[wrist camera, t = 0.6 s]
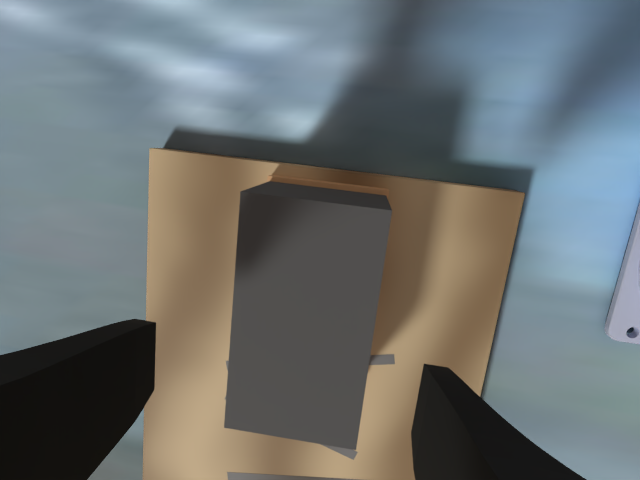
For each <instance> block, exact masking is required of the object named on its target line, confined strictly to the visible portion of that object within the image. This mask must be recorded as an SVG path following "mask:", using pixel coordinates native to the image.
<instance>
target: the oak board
mask: <svg viewBox="0 0 640 480" xmlns="http://www.w3.org/2000/svg"><path fill="white" fill-rule="evenodd" d="M269 175H278V176H287V177H295V178H303V179H311V180H319V181H328V182H336V183H344V184H352V185H360V186H369V187H377V188H385V189H389V196H388V201H389V204H390V206H391V209H392V216H391V222H390V229H389V235H388V242H387V249H386V255H385V262H384V268H383V275H382V282H381V288H380V295H379V301H378V308H377V315H376V321H375V328H374V334H373V341H372V348H371V354H370V361H369V368H368V374H367V381H366V387H365V394H364V401H363V407H362V414H361V420H360V427H359V434H358V440H357V447H356V450H352V449H346V448H340V447H334V446H328V445H322V444H317V443H311V442H305V441H299V440H293V439H287V438H281V437H276V436H270V435H264V434H258V433H252V432H246V431H240V430H235V429H229V428H224V420H225V406H226V392H227V377H228V363H229V349H230V334H231V320H232V306H233V291H234V277H235V263H236V248H237V234H238V220H239V205H240V191H243V190H246V189H249V188H252V187H254V186H257V185H260V184H263V183H266V182H267V178H268V176H269ZM524 196H525V193H523V192H519V191H516V190H509V189H501V188H492V187H484V186H476V185H467V184H459V183H450V182H442V181H434V180H425V179H417V178H409V177H400V176H392V175H383V174H375V173H367V172H358V171H350V170H342V169H333V168H325V167H316V166H308V165H300V164H291V163H283V162H275V161H266V160H258V159H249V158H241V157H233V156H224V155H216V154H207V153H199V152H191V151H182V150H174V149H166V148H150V154H149V202H148V250H147V298H146V321H151V322H156V351H155V387H154V391H153V393H152V395H151V396H150V398H149V400H148V401H147V403H146V405H145V406H144V443H143V480H415V476H414V470H413V457H412V440H411V430H412V425H413V420H414V414H415V409H416V403H417V398H418V392H419V387H420V382H421V376H422V371H423V365H424V364H430V365H436V366H443V367H448V368H449V369H451V370H452V371H453V372H454V373H455V374H456V375H457V376H459V377H460V378H461V379H462V380H463V381H464V382H465V383H466V384H467V385H468V386H469V387H470V388H471V389H472V390H473V391H474V392H475V393H476V394H477V395H478V396H479V397H480V395H481V391H482V386H483V382H484V377H485V373H486V368H487V363H488V359H489V354H490V350H491V345H492V341H493V336H494V332H495V327H496V323H497V318H498V314H499V309H500V305H501V300H502V295H503V291H504V286H505V282H506V277H507V273H508V268H509V264H510V259H511V255H512V250H513V246H514V241H515V236H516V232H517V227H518V223H519V218H520V214H521V209H522V205H523V200H524Z"/></svg>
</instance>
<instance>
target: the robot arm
mask: <svg viewBox="0 0 640 480" xmlns="http://www.w3.org/2000/svg"><path fill="white" fill-rule="evenodd" d="M631 327H634V330H633V332H632V333H630V334H626V332H627V330H628V329H629V328H631ZM605 332H606V334H607V335H608V336H609V337H610V338H612V339H613V340H616V341H621V342H628V343H635V344H640V203H639V207H638V210H637V214H636V217H635V221H634V225H633V228H632V232H631V235H630V239H629V242H628V246H627V249H626V253H625V256H624V260H623V263H622V267H621V270H620V274H619V278H618V281H617V285H616V288H615V292H614V295H613V299H612V302H611V306H610V309H609V313H608V316H607V320H606V324H605ZM155 351H156V322H151V321H145V320H138V319H132V320H126V321H122V322H118V323H114V324H110V325H107V326H103V327H100V328H96V329H93V330H90V331H87V332H83V333H80V334H77V335H73V336H70V337H67V338H63V339H60V340H56V341H53V342H49V343H45V344H42V345H38V346H34V347H31V348H27V349H24V350H20V351H16V352H12V353H8V354H4V355H0V480H87V479H88V478H89V477H90V475H91V474H92V473H93V472H94V471H95V469H96V468H97V467H98V466H99V465H100V463H101V462H102V461H103V460H104V459H105V457H106V456H107V455H108V454H109V453H110V451H111V450H112V449H113V448H114V447H115V445H116V444H117V443H118V442H119V440H120V439H121V438H122V437H123V436H124V434H125V433H126V432H127V431H128V429H129V428H130V427H131V426H132V424H133V423H134V422H135V420H136V419H137V417H138V416H139V414H140V413H141V411H142V410H143V408H144V406H145V405H146V403H147V401H148V400H149V398H150V396H151V395H152V393H153V391H154V387H155ZM411 440H412V457H413V470H414V476H415V480H586V479H584V478H583V477H581V476H580V475H578V474H577V473H575V472H574V471H572V470H571V469H569V468H568V467H566V466H565V465H563V464H562V463H560V462H559V461H558V460H556V459H555V458H553V457H552V456H551V455H549V454H548V453H546V452H545V451H543V450H542V449H541V448H539V447H538V446H537V445H535V444H534V443H533V442H531V441H530V440H529V439H528V438H526V437H525V436H524V435H523V434H522V433H520V432H519V431H518V430H517V429H515V428H514V427H513V426H512V425H511V424H509V423H508V422H507V421H506V420H505V419H504V418H502V417H501V416H500V415H499V414H498V413H497V412H496V411H495V410H493V409H492V408H491V407H490V406H489V405H488V404H487V403H486V402H485V401H484V400H483V399H482V398H481V397H479V396H478V395H477V394H476V393H475V392H474V391H473V390H472V389H471V388H470V387H469V386H468V385H467V384H466V383H465V382H464V381H463V380H462V379H461V378H460V377H459V376H457V375H456V374H455V373H454V372H453V371H452V370H451V369H449V368H448V367H443V366H436V365H430V364H424V365H423V371H422V376H421V382H420V387H419V392H418V398H417V403H416V409H415V414H414V420H413V425H412V430H411Z"/></svg>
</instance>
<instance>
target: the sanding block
mask: <svg viewBox="0 0 640 480" xmlns="http://www.w3.org/2000/svg"><path fill="white" fill-rule="evenodd" d="M388 196H389V189H385V188H377V187H369V186H360V185H352V184H344V183H336V182H328V181H319V180H311V179H303V178H295V177H287V176H278V175H269V176H268V178H267V182H266V183H263V184H260V185H257V186H254V187H252V188H249V189H246V190H243V191H240V205H239V220H238V234H237V248H236V263H235V277H234V291H233V306H232V320H231V334H230V349H229V363H228V377H227V392H226V406H225V420H224V428H229V429H235V430H240V431H246V432H252V433H258V434H264V435H270V436H276V437H281V438H287V439H293V440H299V441H305V442H311V443H317V444H322V445H328V446H334V447H340V448H346V449H352V450H356V447H357V440H358V434H359V427H360V420H361V414H362V407H363V401H364V394H365V387H366V381H367V374H368V368H369V361H370V354H371V348H372V341H373V334H374V328H375V321H376V315H377V308H378V301H379V295H380V288H381V282H382V275H383V268H384V262H385V255H386V249H387V242H388V235H389V229H390V222H391V216H392V209H391V206H390V204H389V201H388Z"/></svg>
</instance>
